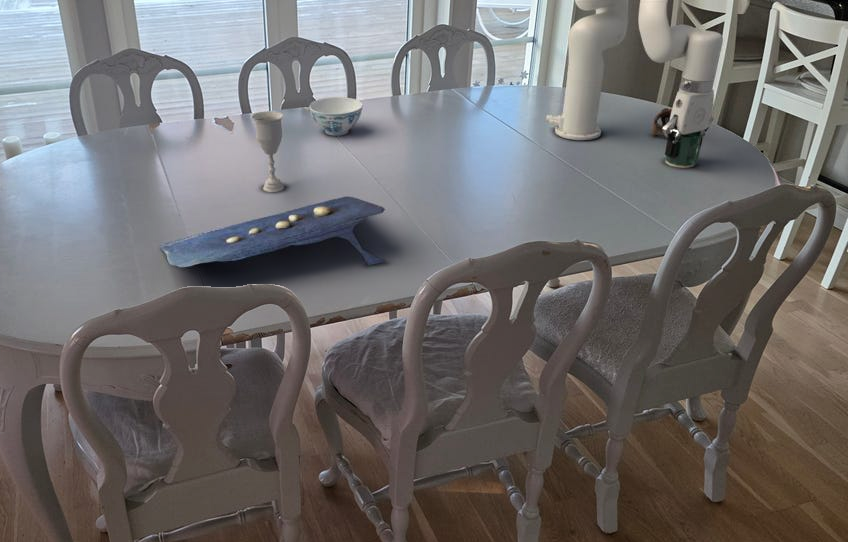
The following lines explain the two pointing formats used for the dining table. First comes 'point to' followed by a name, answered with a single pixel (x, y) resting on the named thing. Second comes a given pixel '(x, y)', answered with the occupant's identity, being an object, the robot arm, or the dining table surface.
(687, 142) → the green mug
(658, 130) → the broken pottery
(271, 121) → the chalice
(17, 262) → the dining table surface
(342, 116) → the chinaware
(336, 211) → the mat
